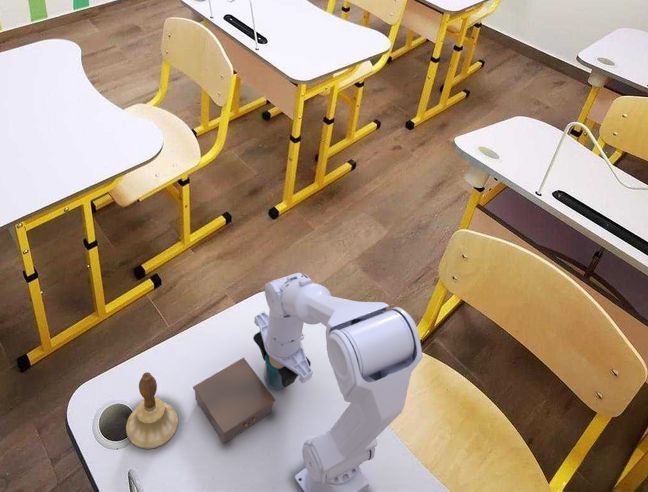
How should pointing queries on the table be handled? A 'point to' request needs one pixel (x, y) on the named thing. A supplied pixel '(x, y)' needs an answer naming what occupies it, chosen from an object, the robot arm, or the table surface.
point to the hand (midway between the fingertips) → (278, 371)
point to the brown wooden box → (233, 399)
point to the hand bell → (151, 418)
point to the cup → (272, 372)
